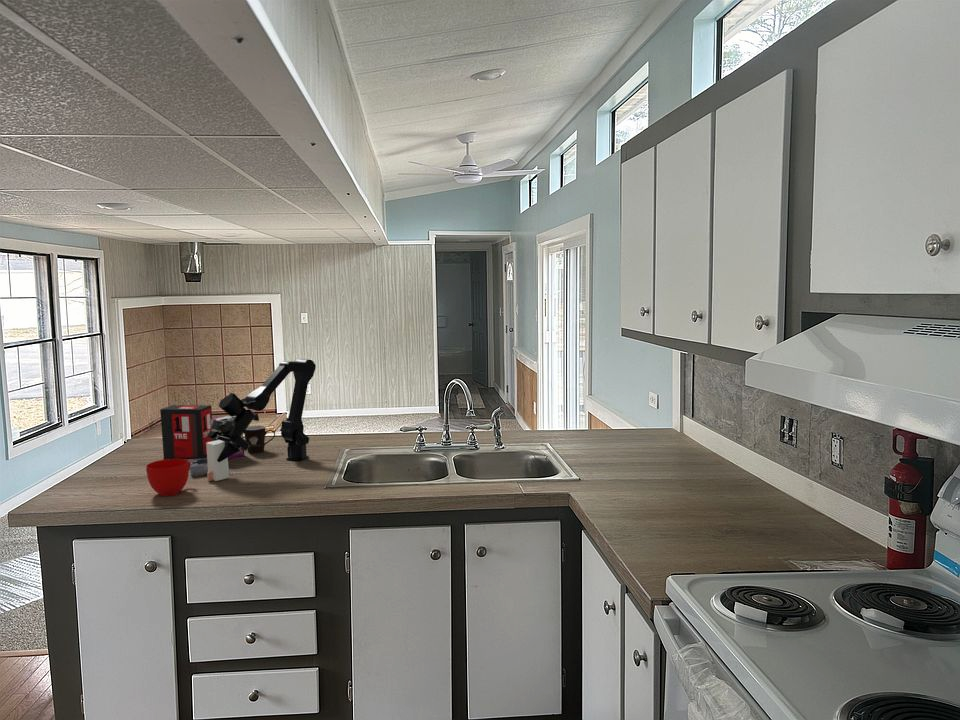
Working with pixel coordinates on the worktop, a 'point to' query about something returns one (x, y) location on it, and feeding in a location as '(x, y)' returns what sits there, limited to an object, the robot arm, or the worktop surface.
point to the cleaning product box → (185, 431)
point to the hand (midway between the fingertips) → (213, 460)
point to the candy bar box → (222, 434)
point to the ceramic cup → (168, 475)
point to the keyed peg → (214, 467)
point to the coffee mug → (256, 438)
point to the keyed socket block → (198, 466)
